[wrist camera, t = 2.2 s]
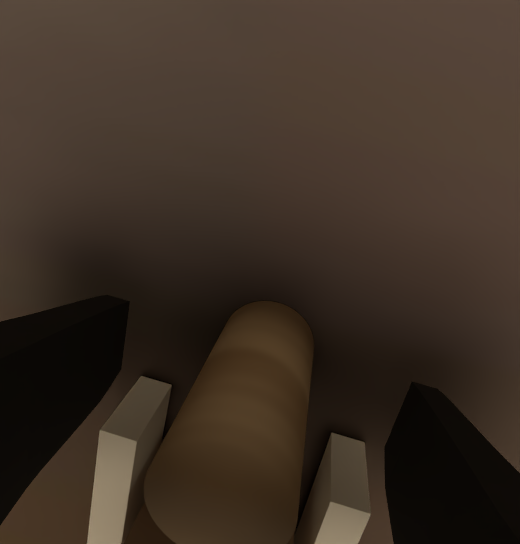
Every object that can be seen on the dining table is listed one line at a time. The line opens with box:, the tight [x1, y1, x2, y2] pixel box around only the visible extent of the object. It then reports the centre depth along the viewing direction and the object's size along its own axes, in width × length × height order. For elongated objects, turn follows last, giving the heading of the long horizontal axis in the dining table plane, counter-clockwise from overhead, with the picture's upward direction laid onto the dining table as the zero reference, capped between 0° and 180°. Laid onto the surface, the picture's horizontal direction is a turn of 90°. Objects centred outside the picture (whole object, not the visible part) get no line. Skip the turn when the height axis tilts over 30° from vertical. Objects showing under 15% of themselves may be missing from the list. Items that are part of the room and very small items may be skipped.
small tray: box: [87, 376, 371, 544], centre depth 13 cm, size 8×7×2 cm
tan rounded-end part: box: [124, 301, 314, 544], centre depth 11 cm, size 9×4×6 cm, turn 167°
